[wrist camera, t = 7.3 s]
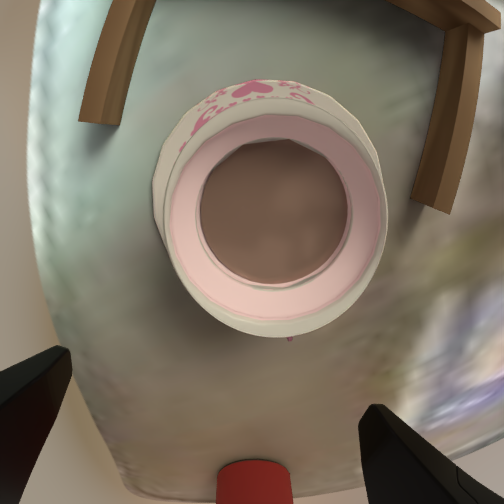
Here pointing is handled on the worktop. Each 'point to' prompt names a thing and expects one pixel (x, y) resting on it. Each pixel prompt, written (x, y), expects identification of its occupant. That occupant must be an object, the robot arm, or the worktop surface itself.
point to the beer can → (254, 483)
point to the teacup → (271, 207)
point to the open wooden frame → (418, 3)
